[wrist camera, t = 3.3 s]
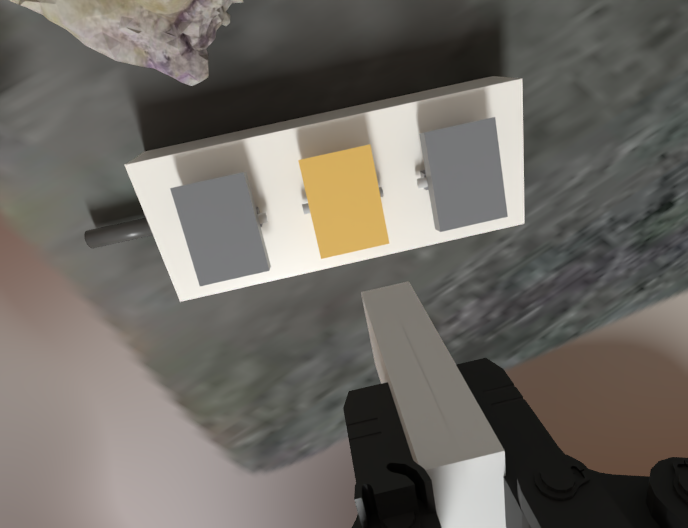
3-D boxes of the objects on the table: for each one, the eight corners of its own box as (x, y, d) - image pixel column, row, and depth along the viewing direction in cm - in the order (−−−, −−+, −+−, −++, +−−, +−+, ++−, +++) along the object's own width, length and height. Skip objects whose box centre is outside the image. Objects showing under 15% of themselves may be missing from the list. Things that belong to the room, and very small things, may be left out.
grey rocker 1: (175, 187, 25) (170, 188, 24) (246, 171, 25) (243, 172, 24) (204, 281, 26) (199, 286, 25) (270, 266, 26) (269, 270, 25)
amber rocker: (298, 160, 25) (298, 160, 24) (367, 144, 25) (370, 144, 24) (320, 255, 26) (321, 259, 25) (386, 240, 27) (389, 243, 26)
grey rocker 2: (419, 133, 25) (424, 132, 24) (487, 118, 26) (495, 116, 24) (435, 229, 27) (440, 232, 26) (499, 214, 27) (507, 216, 26)
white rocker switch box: (66, 168, 28) (24, 189, 24) (492, 75, 29) (532, 79, 25) (123, 289, 32) (96, 328, 28) (498, 205, 33) (532, 229, 28)
